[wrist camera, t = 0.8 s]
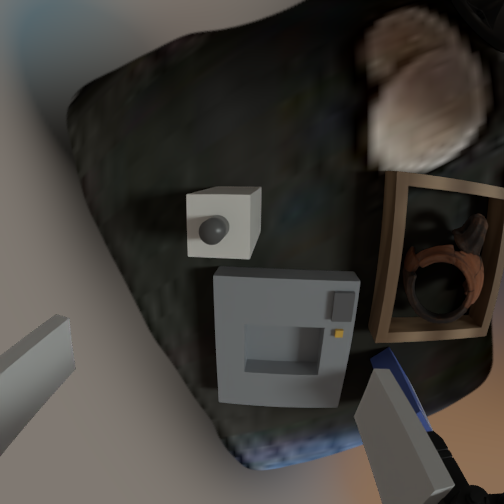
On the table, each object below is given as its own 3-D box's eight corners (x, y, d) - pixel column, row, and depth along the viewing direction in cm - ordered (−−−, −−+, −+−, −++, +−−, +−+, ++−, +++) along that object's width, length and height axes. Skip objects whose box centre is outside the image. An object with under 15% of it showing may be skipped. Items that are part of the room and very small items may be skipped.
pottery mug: (459, 307, 32) (455, 345, 25) (396, 273, 36) (381, 305, 29) (504, 221, 25) (517, 244, 19) (434, 184, 29) (430, 196, 23)
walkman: (369, 358, 34) (394, 429, 22) (388, 346, 33) (421, 413, 22) (393, 395, 35) (418, 461, 23) (411, 384, 34) (441, 448, 23)
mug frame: (496, 187, 27) (513, 190, 24) (472, 323, 31) (485, 335, 28) (385, 170, 28) (397, 171, 25) (367, 327, 33) (375, 342, 29)
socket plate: (354, 271, 31) (361, 283, 28) (334, 391, 35) (338, 410, 32) (219, 266, 33) (211, 277, 29) (223, 386, 37) (218, 405, 33)
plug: (261, 187, 30) (246, 197, 19) (260, 231, 31) (246, 268, 20) (216, 186, 30) (176, 196, 19) (217, 229, 32) (179, 264, 20)
